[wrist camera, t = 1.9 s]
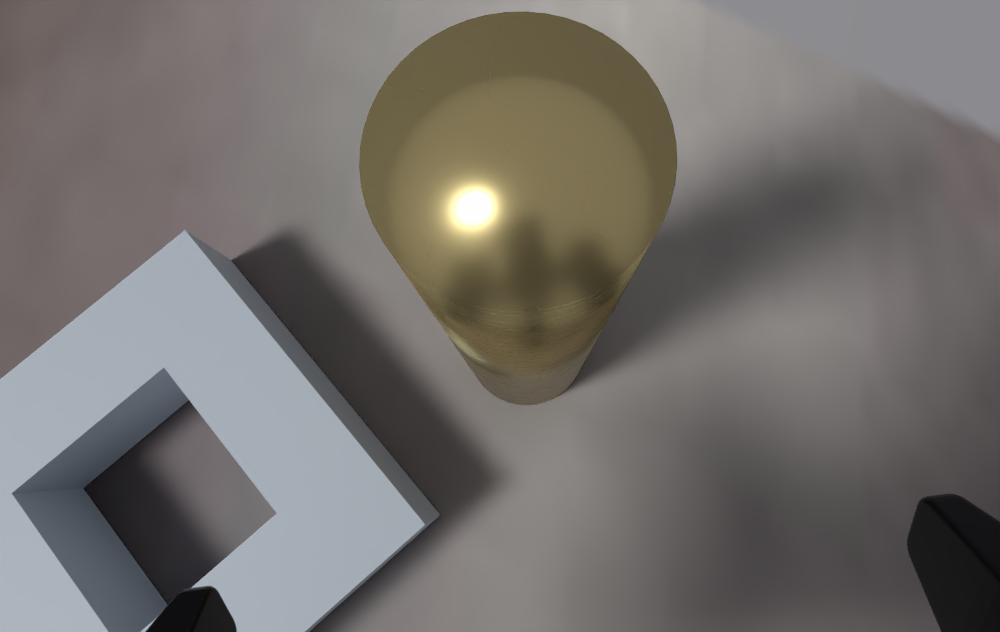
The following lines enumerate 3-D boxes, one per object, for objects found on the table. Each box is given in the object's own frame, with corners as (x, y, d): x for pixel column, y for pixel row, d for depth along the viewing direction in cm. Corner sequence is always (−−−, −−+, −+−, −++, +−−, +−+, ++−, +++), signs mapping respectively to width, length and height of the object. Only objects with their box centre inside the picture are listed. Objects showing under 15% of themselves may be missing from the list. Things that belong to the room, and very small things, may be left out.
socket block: (440, 514, 21) (425, 524, 18) (159, 765, 20) (94, 818, 17) (230, 259, 22) (184, 229, 20) (-38, 479, 22) (-128, 482, 19)
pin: (608, 351, 21) (745, 166, 8) (520, 429, 21) (501, 378, 7) (531, 267, 22) (530, -45, 8) (444, 342, 22) (295, 144, 8)
